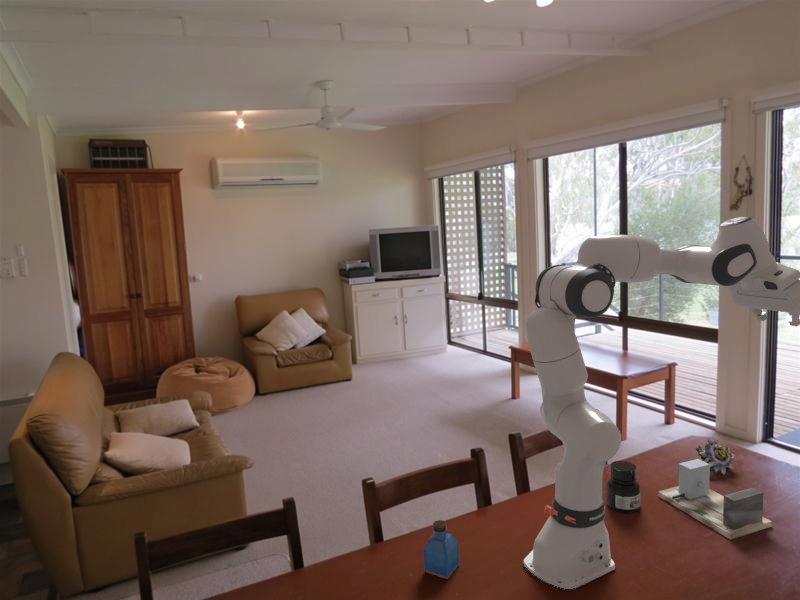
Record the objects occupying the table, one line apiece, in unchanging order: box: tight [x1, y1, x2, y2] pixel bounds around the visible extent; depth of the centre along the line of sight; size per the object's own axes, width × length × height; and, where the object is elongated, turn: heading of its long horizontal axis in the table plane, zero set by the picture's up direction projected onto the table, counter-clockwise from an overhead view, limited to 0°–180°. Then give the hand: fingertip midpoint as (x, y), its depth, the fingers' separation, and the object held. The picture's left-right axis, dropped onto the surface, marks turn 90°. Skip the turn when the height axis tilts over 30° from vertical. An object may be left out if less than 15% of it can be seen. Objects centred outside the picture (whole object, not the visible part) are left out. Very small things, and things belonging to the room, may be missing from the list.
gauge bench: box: [657, 485, 772, 540], centre depth 153 cm, size 24×14×10 cm, turn 19°
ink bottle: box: [606, 460, 641, 513], centre depth 158 cm, size 10×9×12 cm
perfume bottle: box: [423, 519, 460, 577], centre depth 134 cm, size 6×6×12 cm
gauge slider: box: [672, 458, 711, 499], centre depth 157 cm, size 6×11×9 cm, turn 109°
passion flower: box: [695, 437, 736, 476], centre depth 177 cm, size 11×11×12 cm
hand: (778, 322), depth 141 cm, fingers open, 8 cm apart
